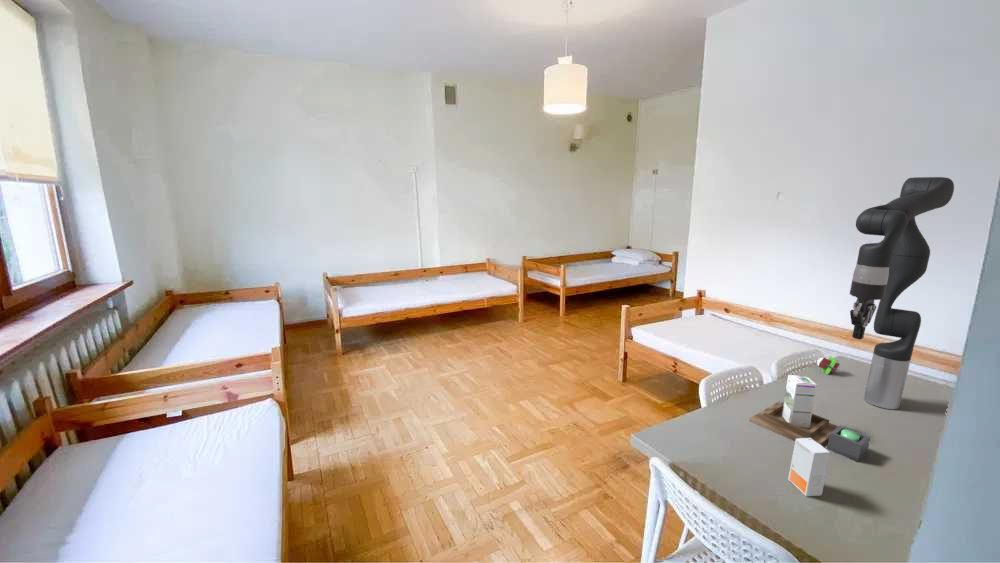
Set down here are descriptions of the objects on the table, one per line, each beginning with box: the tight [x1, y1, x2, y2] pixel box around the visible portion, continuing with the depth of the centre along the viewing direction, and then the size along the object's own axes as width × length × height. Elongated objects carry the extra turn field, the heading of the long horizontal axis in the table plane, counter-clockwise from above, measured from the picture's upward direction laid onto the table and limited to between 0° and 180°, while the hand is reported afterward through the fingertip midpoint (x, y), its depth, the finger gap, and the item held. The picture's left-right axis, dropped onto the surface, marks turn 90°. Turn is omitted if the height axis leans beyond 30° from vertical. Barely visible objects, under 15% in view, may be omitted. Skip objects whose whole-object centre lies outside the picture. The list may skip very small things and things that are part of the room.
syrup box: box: [782, 374, 818, 428], centre depth 129 cm, size 6×6×14 cm
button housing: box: [826, 425, 872, 463], centre depth 118 cm, size 7×7×5 cm
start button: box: [841, 429, 860, 442], centre depth 118 cm, size 4×4×3 cm
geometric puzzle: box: [816, 355, 841, 376], centre depth 167 cm, size 7×7×8 cm
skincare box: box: [787, 438, 831, 497], centre depth 102 cm, size 6×4×12 cm
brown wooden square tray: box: [749, 401, 840, 446], centre depth 131 cm, size 18×18×3 cm
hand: (857, 338), depth 124 cm, fingers closed
